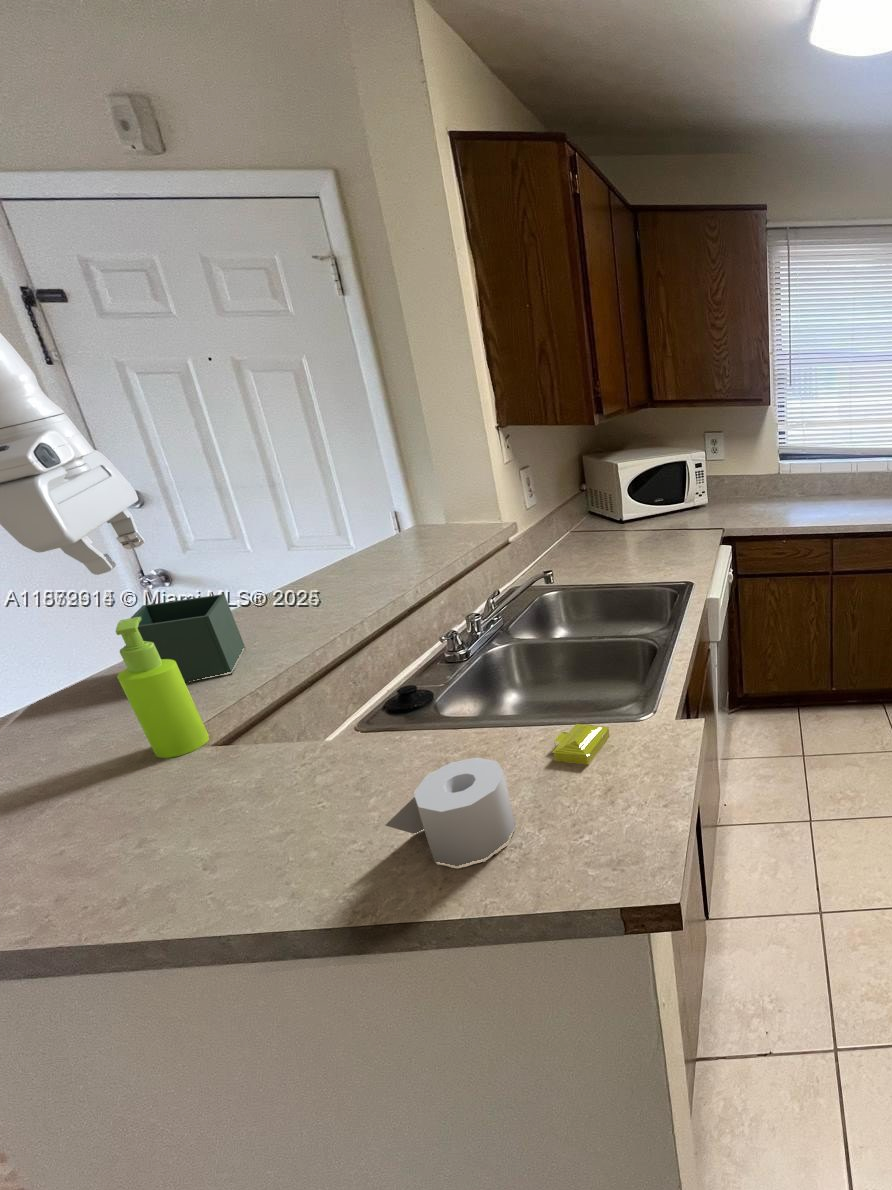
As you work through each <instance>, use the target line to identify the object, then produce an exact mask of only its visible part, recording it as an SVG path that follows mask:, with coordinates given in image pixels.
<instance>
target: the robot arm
mask: <svg viewBox="0 0 892 1190" xmlns="http://www.w3.org/2000/svg"><path fill="white" fill-rule="evenodd" d="M43 391H44V390H42V388H41V386H40V385H39V383H38V380H37V377H36V374H35V373H34V371H33V369H32V368H31V367H30V366H29V365H28V364H27V362H26V361H25V360H24V358H23V357H22V355H20V354H19V352H17V350H16V349H15V348H14V347H13V345H12V344H11V343H10V342H9V341H8V339H6V337H5V336H4V335H3V334H2V333H1V332H0V526H1V527H2V528H3V530H5V531H6V532H7V533H8V534H9V535H10V536H11V537H12V538H13V539H14V540H15V541H17V542H18V543H19V544H20V545H21V546H23V547H25V548H27V549H29V550H31V551H33V552H35V553H39V554H40V553H45V552H48V551H53V550H57V549H61V551H62V552H63V553H64V554H65V555H67V556H69V557H70V558H72V559H74V560H76V561H77V562H79V563H81V564H83V565H84V566H85V568H87V570H88V571H89V572H90V573H91V574H93V575H96V576H99V575H103V574H106V573H109V572H111V571H112V570H113V569H114V568H115V567H116V566H117V565H116V562H115V561H114V560H112V558H111V556H110V555H109V554H108V553H102V552H101V551H100V550H98V549H97V548H96V547H94V546H93V545H92V544H94V543H93V541H92V540H91V539H90V537H89V536H88V535H89V534H90V533H92V532H93V531H95V530H97V529H98V528H99V527H101V526H102V525H104V524H106V523H107V524H110V525H111V526H112V528H113V530H114V532H115V533H116V535H117V537H115V538H116V540H117V541H118V542H119V544H121V546H122V547H123V548H124V549H125V550H132V549H135V548H139V547H141V546H142V545H143V544H145V542H146V539H145V537H143V535H142V534H141V533H140V532H139V530H138V527H137V524H136V522H135V518H134V516H133V514H132V513H131V511H130V510H129V509H128V508H130V507H131V506H133V505H134V504H136V503H137V502H138V501H139V497H138V494H137V491H136V489H135V488H134V487H133V486H132V484H131V483H130V482H129V481H128V479H126V477H125V476H124V475H123V474H122V473H121V471H119V469H118V468H117V467H116V466H115V465H114V464H113V462H112V461H110V459H108V457H106V455H105V454H103V453H102V452H101V451H98V450H96V449H94V448H93V447H92V445H91V444H90V443H89V441H88V440H87V439H86V438H85V436H84V435H83V434H82V433H81V431H80V430H79V429H78V427H77V426H76V425H75V424H74V423H73V421H72V420H71V419H70V417H69V416H68V415H67V414H66V412H65V411H64V410H63V409H62V408H61V407H60V406H59V405H57V404H56V403H55V402H53V400H51V399H50V398H49V397H48V396H47V395H46V394H45V393H44V392H43Z"/></svg>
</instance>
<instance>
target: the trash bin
mask: <svg viewBox="0 0 892 1190" xmlns="http://www.w3.org/2000/svg"><path fill="white" fill-rule="evenodd" d="M135 617H141V619H142V620H141V621H140V622H139V625H138V630H139V633H140V635H141V637H142V639H143V641H147V642H153V643H154V645H155V647H156V649H157V651H158V653H159V656H160V658H161V659H171V660H174V661H176V663H177V666H178V668H179V670H180V672H181V675H182V677H183V679H184V681H185V682H189V681H193V680H197V679H202V678H205V677H210V676H215V675H220V674H224V673H227V672H231V671H232V669H233V667H234V665H235V663H236V661H237V659H238V658H239V655H240V654H241V652H242V649H243V648H244V646H245V643H244V641H243V638H242V635H241V633H240V630H239V628H238V625H237V623H236V620H235V617H234V616H233V612H232V610H231V608H230V604H229V602H228V600H227V597H226V594H225V593H222V594H216V595H209V596H208V595H207V596H201V597H193V598H186V599H179V600H172V601H171V600H170V601H165V602H158V603H150V604H143V605H142V606H141V607H140V608H138V610H137V611H136V612H134V614H133V615H132V616H131V617H130V618H135ZM189 683H190V682H189Z"/></svg>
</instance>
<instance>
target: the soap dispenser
mask: <svg viewBox="0 0 892 1190" xmlns="http://www.w3.org/2000/svg"><path fill="white" fill-rule="evenodd" d="M141 620H142V619H141V617H135V618H131V617H130V618H126V619H121V620H119V621H118V622H117V624H116V628H115V634H116V636H120V635H121V638H122V640H123V642H124V644H125V645H124V646H123V647H121V648H120V649H119V654H120V656H121V658H122V660H123V662H124V664H125V667H126V668H125V669H123V670H121V671H120V672H118V674H117V676H116V677H117V680H118V682H119V685H120V686H121V688H122V690H123V692H124V695H125V696H126V698H127V700H128V702H129V705H130V706H131V709H132V710H133V712H134V714H135V716H136V718H137V721H138V723H139V724H140V727H141V729H142V730H143V732H144V734H145V737H146V739H147V741H148V742H149V744H150V747H151V749H152V751H153V753H154V755H155V756H156V757H157V758H162V759H168V758H169V759H171V758H176V757H180V756H183V755H186V754H189V753H192V752H195V751H196V750H198V749H200V748H202V747H203V746H205V745H206V744H207V743H208V742H209V741H210V735H209V733H208V731H207V728H206V726H205V724H204V722H203V719H202V717H201V715H200V713H199V710H198V708H197V706H196V704H195V702H194V699H193V698H192V695H191V692H190V691H189V688H188V685H187V683H185V681H184V679H183V677H182V675H181V672H180V670H179V668H178V666H177V663H176V661H174V660H171V659H161V658H160V656H159V653H158V651H157V649H156V647H155V645H154V643H153V642H147V641H143V639H142V637H141V635H140V633H139V630H138V625H139V622H140V621H141Z"/></svg>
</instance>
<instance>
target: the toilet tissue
mask: <svg viewBox="0 0 892 1190" xmlns="http://www.w3.org/2000/svg"><path fill="white" fill-rule="evenodd" d="M514 815H515V814H514V811H513V806H512V802H511V797H510V794H509V788H508V783H507V779H506V774H505V772H504V770H503V769H502V767H501V765H500V764H499V762H498V761H497V760H493V759H489V758H488V759H487V758H483V757H478V756H475V757H470V758H466V759H461V760H456V761H452V762H451V761H450V762H448V763H447V764H445V765H443V766H441V767H439V768H438V769H436V770H434V771H432V772H431V773H429V774H427V775H425V776H424V777H423V779H422V780H421V782H420V783H419V784H418V786H417V787H416V789H415V790H414V791H413V798H411V799H410V800H409V802H407V803H406V804H405V805H404V806H403V807H402V808H401V809H400V810H399V811H398V812H397V813H396V814H395V815H394V816H393V817H392V818H391V819H390V820H389V821H387V822H386V823H385V824H384V826H385V827H388V828H391V829H395V830H399V831H403V832H407V833H410V834H414V833H416V834H418V833H420V832H422V831H421V830H423V829H424V830H423V831H424V833H425V838H426V840H427V843H428V848H429V851H430V850H431V851H430V853H431V855H433V856H432V859H433V861H434V860H435V861H434V863H435V862H440V863H445V864H450V865H455V866H459V865H462V864H466V863H470V862H472V861H477V860H481V859H484V858H486V857H488V856H489V855H490V854H491V853H493V852H494V851H495V850H497V849H498V848H499V847H500V846H502V845H503V844H504V843H506V842H507V841H508V839H509V836H510V835H511V833H512V831H513V829H514V827H515V825H516V826H517V824H516V821H515V816H514ZM419 831H420V832H419ZM417 832H418V833H417ZM414 835H415V834H414Z"/></svg>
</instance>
